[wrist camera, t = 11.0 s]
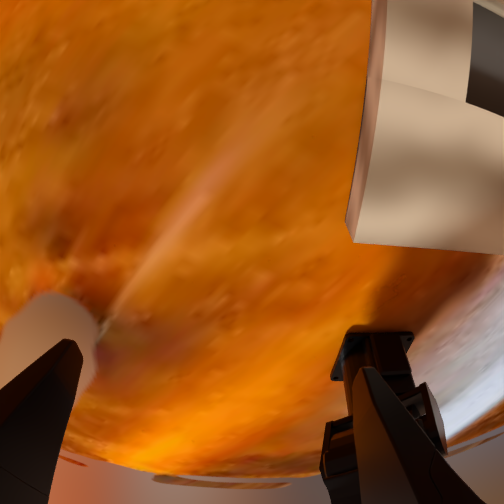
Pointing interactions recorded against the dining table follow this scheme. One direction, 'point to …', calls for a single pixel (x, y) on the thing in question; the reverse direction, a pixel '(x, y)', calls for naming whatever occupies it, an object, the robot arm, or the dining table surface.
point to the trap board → (432, 128)
